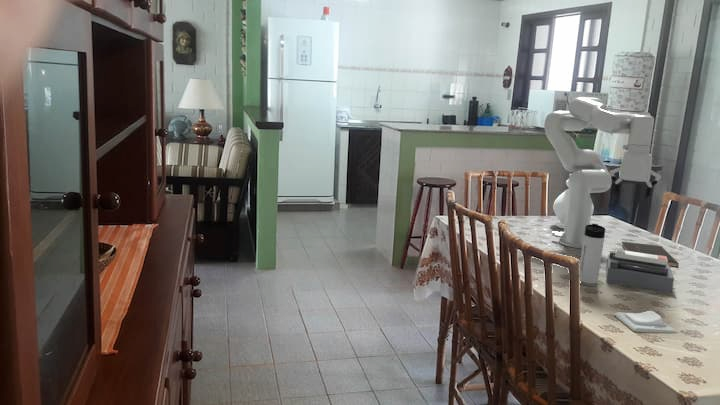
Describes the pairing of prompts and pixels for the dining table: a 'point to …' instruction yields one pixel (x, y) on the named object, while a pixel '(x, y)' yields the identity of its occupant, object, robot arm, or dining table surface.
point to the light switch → (644, 322)
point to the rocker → (641, 257)
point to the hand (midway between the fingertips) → (631, 195)
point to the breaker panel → (639, 273)
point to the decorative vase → (563, 207)
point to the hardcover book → (650, 251)
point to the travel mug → (591, 254)
